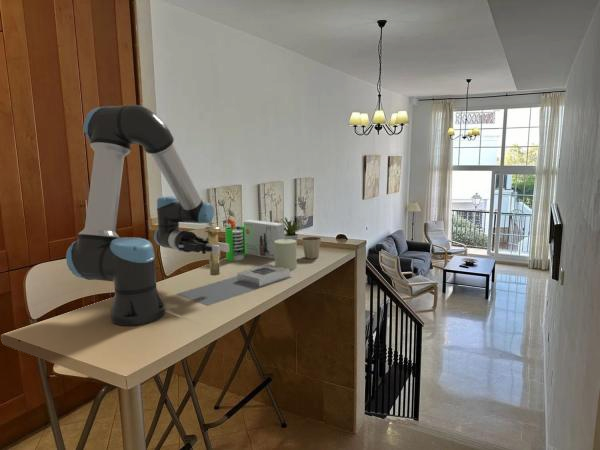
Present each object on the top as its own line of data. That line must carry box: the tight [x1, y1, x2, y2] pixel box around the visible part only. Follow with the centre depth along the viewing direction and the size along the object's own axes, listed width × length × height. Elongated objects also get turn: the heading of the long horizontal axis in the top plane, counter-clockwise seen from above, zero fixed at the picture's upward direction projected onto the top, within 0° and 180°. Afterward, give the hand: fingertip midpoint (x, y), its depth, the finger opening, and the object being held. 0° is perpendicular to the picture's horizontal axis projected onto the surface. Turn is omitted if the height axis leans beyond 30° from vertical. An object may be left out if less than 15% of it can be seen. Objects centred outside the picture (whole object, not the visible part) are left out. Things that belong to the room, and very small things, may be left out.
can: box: [274, 238, 298, 271], centre depth 180 cm, size 9×9×12 cm
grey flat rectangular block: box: [236, 263, 291, 287], centre depth 165 cm, size 16×12×3 cm
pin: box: [204, 226, 222, 277], centre depth 149 cm, size 5×5×16 cm
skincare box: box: [243, 219, 285, 260], centre depth 202 cm, size 21×5×16 cm, turn 53°
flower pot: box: [300, 236, 322, 259], centre depth 198 cm, size 9×9×9 cm
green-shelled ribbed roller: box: [224, 218, 246, 262], centre depth 198 cm, size 9×8×18 cm
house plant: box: [279, 215, 303, 247], centre depth 219 cm, size 14×14×16 cm
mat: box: [176, 275, 293, 306], centre depth 158 cm, size 39×18×1 cm, turn 138°
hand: (223, 249), depth 145 cm, fingers closed on pin, 3 cm apart
